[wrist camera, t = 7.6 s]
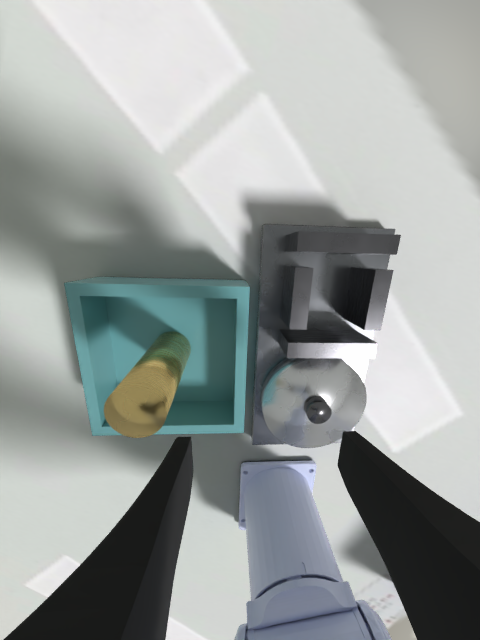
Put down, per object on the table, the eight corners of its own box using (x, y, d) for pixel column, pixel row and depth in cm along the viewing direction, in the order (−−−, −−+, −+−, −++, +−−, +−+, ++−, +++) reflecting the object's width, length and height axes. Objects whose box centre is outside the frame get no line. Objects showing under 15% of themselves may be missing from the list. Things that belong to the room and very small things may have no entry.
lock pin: (190, 365, 19) (166, 438, 12) (154, 363, 19) (106, 437, 12) (191, 332, 19) (166, 387, 11) (153, 330, 18) (101, 385, 11)
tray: (240, 401, 22) (243, 432, 18) (116, 402, 21) (92, 435, 17) (245, 280, 19) (249, 286, 15) (98, 276, 18) (64, 283, 14)
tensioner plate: (346, 434, 24) (369, 469, 20) (251, 436, 23) (256, 473, 19) (386, 230, 18) (429, 224, 14) (262, 225, 18) (272, 217, 14)
